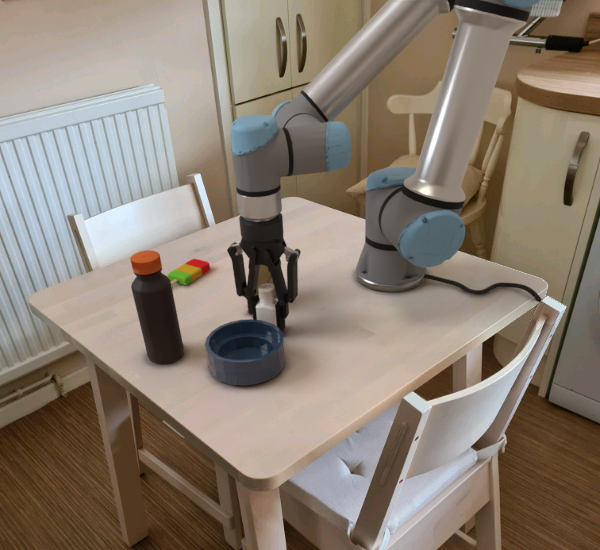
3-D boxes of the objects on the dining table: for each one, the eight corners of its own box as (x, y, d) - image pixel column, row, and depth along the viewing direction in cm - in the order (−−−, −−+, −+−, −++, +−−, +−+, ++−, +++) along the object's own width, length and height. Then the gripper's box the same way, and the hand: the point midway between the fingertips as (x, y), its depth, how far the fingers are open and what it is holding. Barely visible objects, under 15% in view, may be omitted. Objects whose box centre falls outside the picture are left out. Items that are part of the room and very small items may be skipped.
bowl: (295, 349, 116) (293, 324, 112) (269, 393, 105) (267, 367, 102) (227, 339, 119) (224, 315, 116) (196, 381, 109) (191, 355, 106)
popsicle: (212, 269, 143) (211, 262, 142) (168, 297, 133) (167, 290, 132) (194, 264, 146) (193, 257, 144) (150, 292, 136) (148, 284, 135)
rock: (261, 313, 122) (297, 289, 126) (237, 275, 120) (275, 252, 125) (240, 323, 132) (275, 301, 136) (218, 289, 130) (254, 267, 134)
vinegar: (168, 340, 120) (147, 244, 107) (191, 352, 116) (173, 254, 104) (140, 356, 116) (116, 258, 103) (164, 369, 112) (142, 269, 100)
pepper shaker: (257, 334, 120) (252, 291, 114) (264, 323, 123) (260, 281, 117) (276, 337, 119) (273, 293, 113) (283, 326, 122) (280, 283, 116)
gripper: (314, 209, 107) (317, 325, 121) (223, 201, 111) (237, 314, 126) (300, 226, 101) (305, 345, 116) (206, 217, 106) (222, 333, 120)
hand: (270, 329), depth 121 cm, fingers closed on pepper shaker, 4 cm apart
